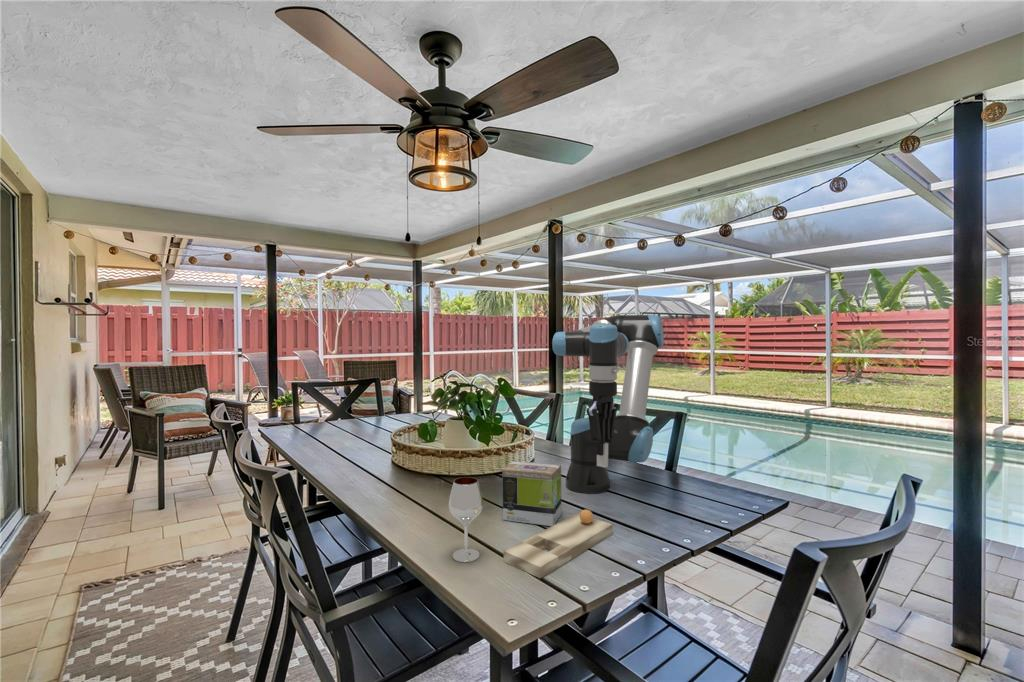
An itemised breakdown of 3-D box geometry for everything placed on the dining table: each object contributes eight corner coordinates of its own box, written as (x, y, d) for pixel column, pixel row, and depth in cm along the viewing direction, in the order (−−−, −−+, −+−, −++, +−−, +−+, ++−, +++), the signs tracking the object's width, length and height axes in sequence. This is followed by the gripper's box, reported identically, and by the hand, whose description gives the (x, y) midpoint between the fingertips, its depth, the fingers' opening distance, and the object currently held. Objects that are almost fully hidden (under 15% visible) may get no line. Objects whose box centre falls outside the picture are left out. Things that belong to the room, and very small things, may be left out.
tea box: (561, 514, 137) (562, 463, 137) (553, 528, 128) (553, 474, 127) (513, 507, 142) (513, 459, 142) (501, 520, 133) (501, 468, 132)
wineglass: (449, 548, 116) (449, 475, 116) (482, 547, 117) (482, 475, 116) (448, 565, 108) (447, 487, 107) (483, 563, 109) (483, 486, 108)
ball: (576, 523, 125) (577, 510, 125) (584, 519, 127) (584, 506, 127) (588, 527, 122) (588, 513, 122) (595, 522, 125) (595, 509, 125)
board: (503, 561, 110) (503, 550, 110) (577, 522, 132) (577, 513, 132) (540, 578, 102) (540, 567, 102) (612, 533, 124) (612, 524, 124)
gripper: (602, 383, 122) (601, 474, 123) (627, 380, 132) (626, 463, 132) (578, 381, 127) (577, 468, 128) (603, 378, 137) (603, 458, 138)
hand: (602, 466), depth 130 cm, fingers closed
